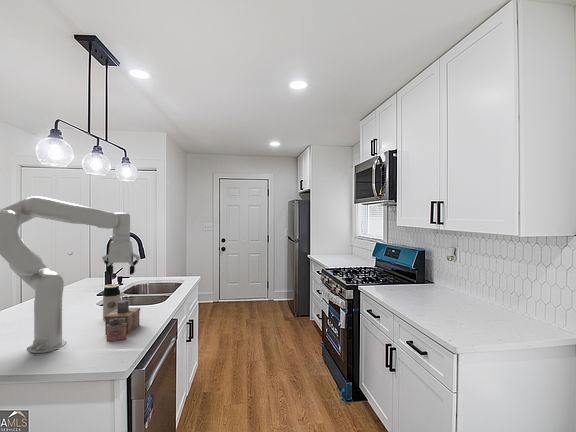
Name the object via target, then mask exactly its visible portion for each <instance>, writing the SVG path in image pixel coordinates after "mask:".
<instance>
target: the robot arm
mask: <svg viewBox="0 0 576 432" xmlns="http://www.w3.org/2000/svg"><path fill="white" fill-rule="evenodd" d="M34 218H40V219H46V220H51V221H55V222H56V221H57V222H60V223H61V222H62V223H66V224H74V225H87V226H92V227H93V226H94V227H97V228H99V229H107V230H108V229H109V230H110V229H112V235H110V236H109V239H110V240H111V241H110V243H109V249H108V253H107V254H106V255H104V256H102V259H101V260H102V261H103V262H104V264H105V265H106V266H107V273H108V276H111V275H114V266H113V264H116V263H117V264H118V263H119V264H120V263H123V264H124V263H125V264H126V263H128V264H129V265H130V266H129V275H131V276H132V275H133V274H134V273H135V269H136V267H135V266H136V265H137V264H138V263H139V261H140V259H141V256H140V255H138V254H136V253H134V246H133V243H132V240H131V214H130V213H129V212H112V211H107V210H103V209H99V208H93V207H88V206H84V205H81V204H76V203H71V202H66V201H62V200H58V199H53V198H49V197H44V196H39V195H36V196H30V197H27V198H24V199H22V200H19V201H18V202H16V203H13V204H11V205H9V206H6V207H4V208H2V209H1V208H0V256H1V257H2V258H3V259H4V260H5V261H6V262H7V263H8V265H9V268H10V270H12V272H13V273H15V275H17V277H19V278H20V279H21V280H23V282H25V283H26V284H27V286H29V287H30V288H31V289H33V291H34V292H35V294H34V301H33V303H34V304H33V314H34V315H33V316H34V317H33V325H34V326H33V327H34V329H33V330H34V331H33V333H34V334H33V340H32V344H31V345H30V346H28V347H26V351H27V352H29V353H32V354H44V353H45V354H46V353H50V352H54V351H55V352H56V351H58V350H59V348H62V347H65V345H67V340H65V339H63V295H64V288H65V287H64V286H65V283H64V279H63V277H62V276H61V274H60V273H59V272H57V271H53V270H51V269H50V268H49V267H48V266H47V265H46V264H45V263H44V262H43V259H42V257H41V256H40V255H39V254H37V253H36V252H35V251H34V250H33V249H32V248H31V247H30V246H29V245H28V244H26V242H25V241H24V240H23V239H22V238H21V236H20V235H19V228H20V226H21V225H22V224H24V223H26V222H29V221H31V220H33V219H34ZM134 258H135V260H134Z"/></svg>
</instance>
